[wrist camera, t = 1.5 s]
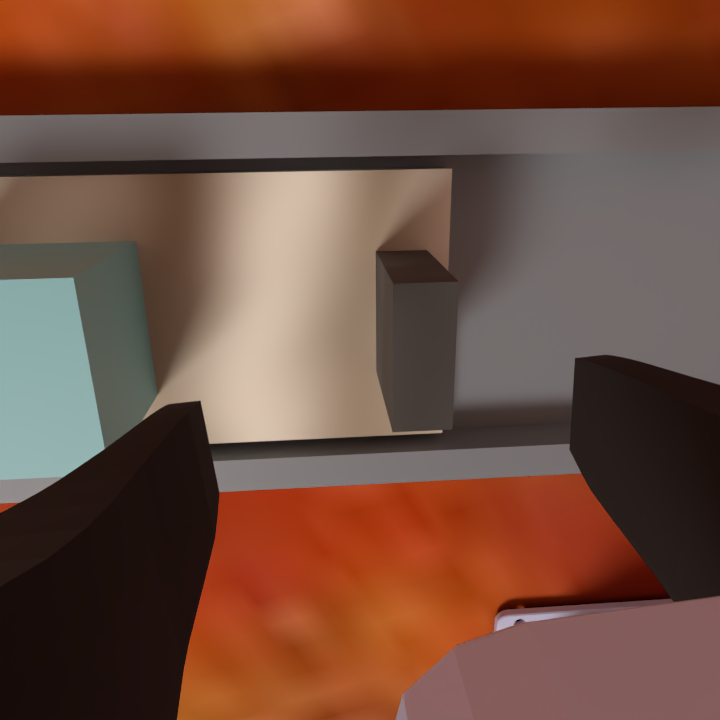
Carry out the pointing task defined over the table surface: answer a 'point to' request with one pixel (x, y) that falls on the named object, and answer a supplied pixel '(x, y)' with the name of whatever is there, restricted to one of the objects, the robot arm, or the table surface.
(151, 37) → the table surface
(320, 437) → the sliding plate with handle
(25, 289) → the block
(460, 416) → the channel
